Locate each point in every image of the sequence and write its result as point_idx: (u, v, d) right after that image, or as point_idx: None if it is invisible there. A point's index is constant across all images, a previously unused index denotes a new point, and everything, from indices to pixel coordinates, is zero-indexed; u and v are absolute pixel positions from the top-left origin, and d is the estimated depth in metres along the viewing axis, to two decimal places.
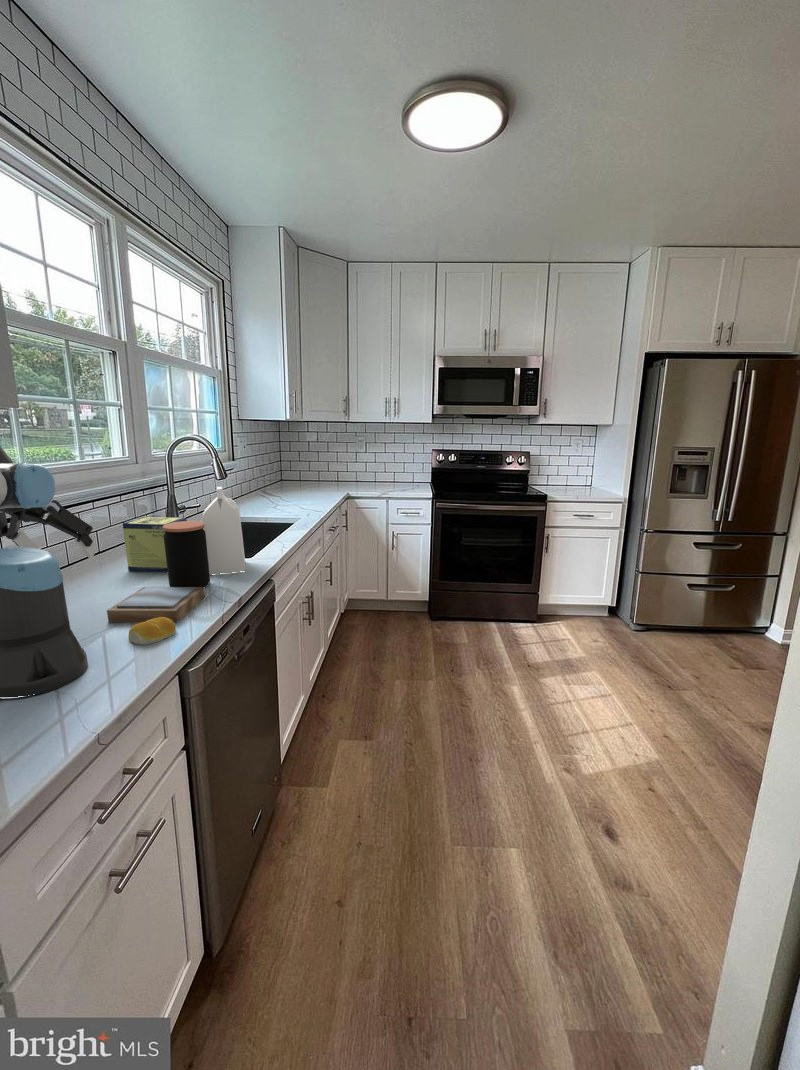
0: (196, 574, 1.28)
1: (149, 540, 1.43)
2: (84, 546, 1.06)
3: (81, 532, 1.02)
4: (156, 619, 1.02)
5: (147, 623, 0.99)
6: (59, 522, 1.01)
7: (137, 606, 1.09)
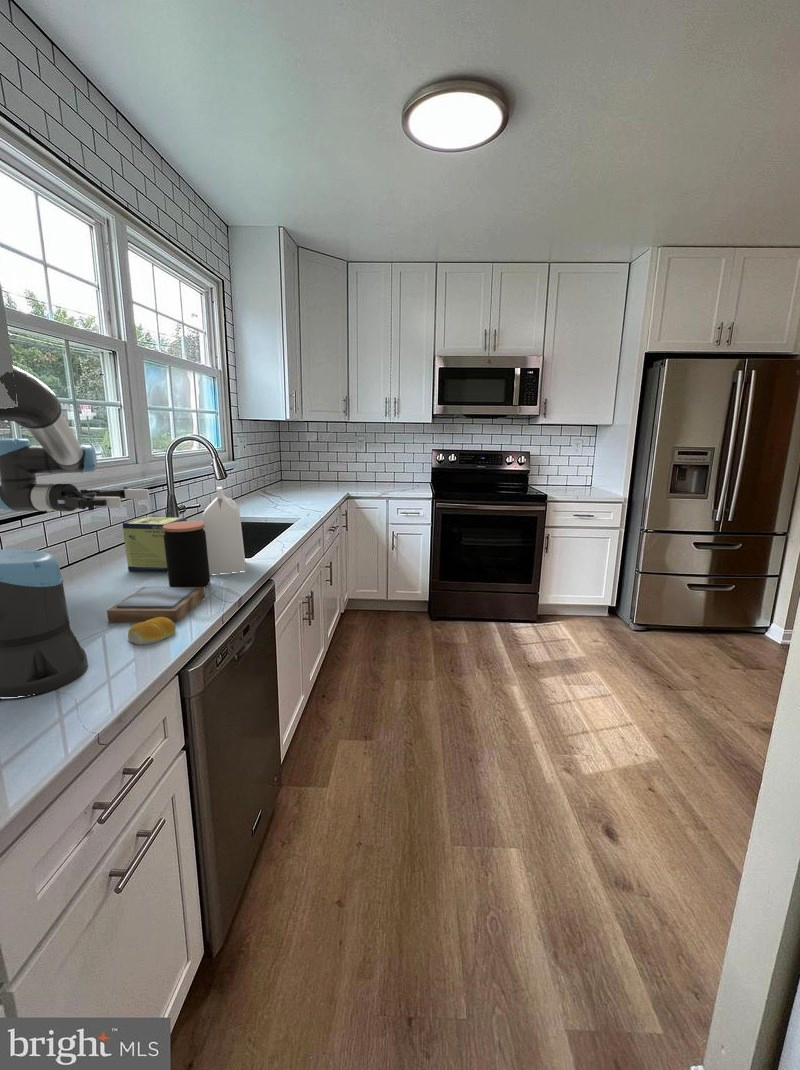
0: (196, 574, 1.28)
1: (149, 540, 1.43)
2: None
3: None
4: (155, 619, 1.02)
5: (146, 623, 0.99)
6: None
7: (137, 606, 1.09)
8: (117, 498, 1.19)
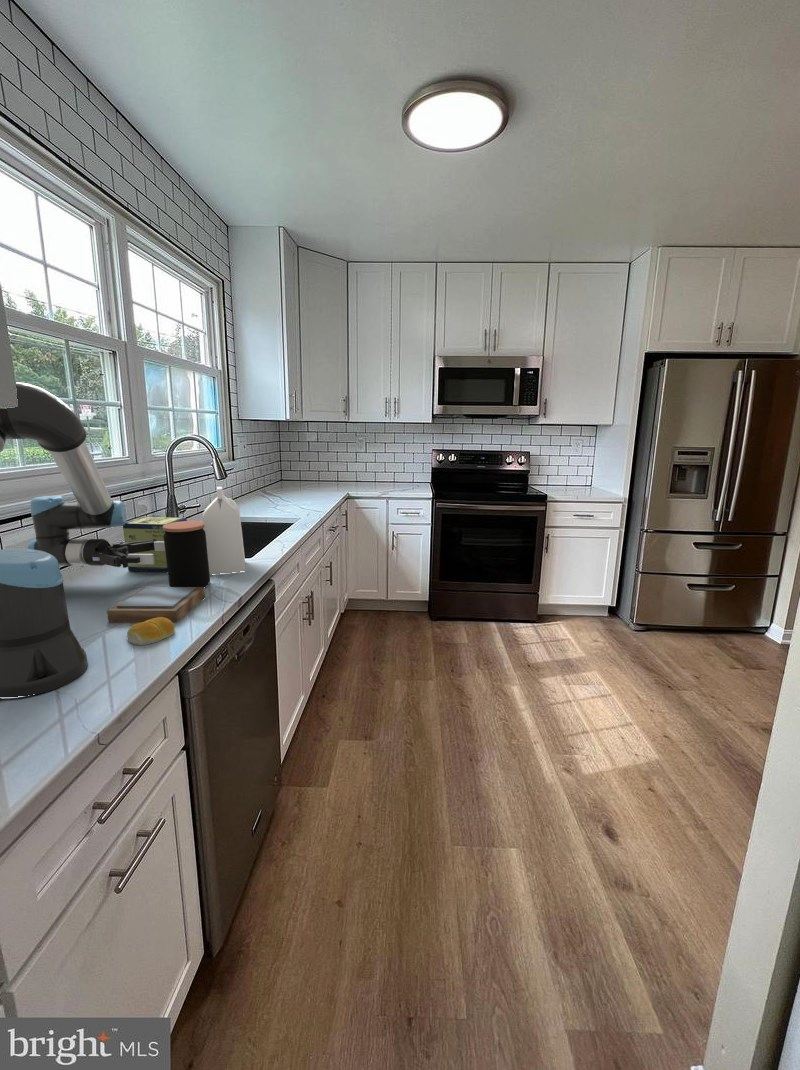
0: (196, 574, 1.28)
1: None
2: None
3: (151, 540, 1.39)
4: (155, 619, 1.02)
5: (146, 623, 0.99)
6: None
7: (137, 606, 1.09)
8: (151, 555, 1.24)
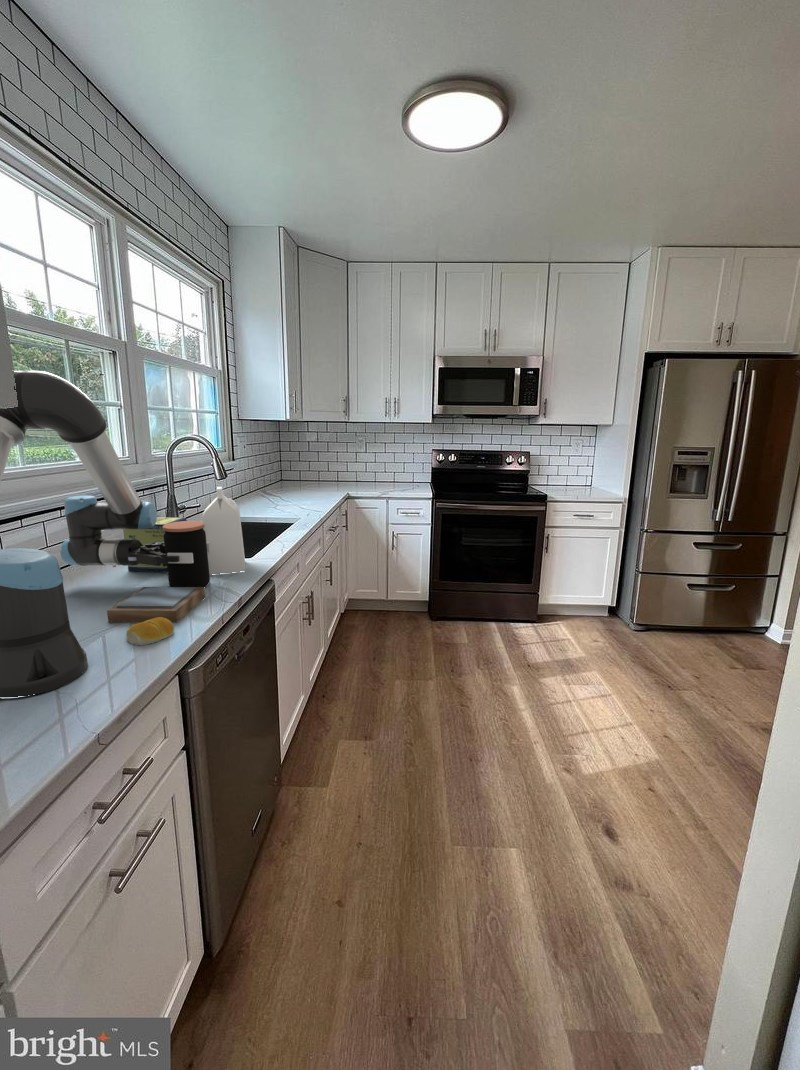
0: (195, 574, 1.28)
1: (149, 540, 1.43)
2: None
3: None
4: (154, 619, 1.01)
5: (145, 623, 0.99)
6: None
7: (137, 606, 1.09)
8: (190, 554, 1.24)
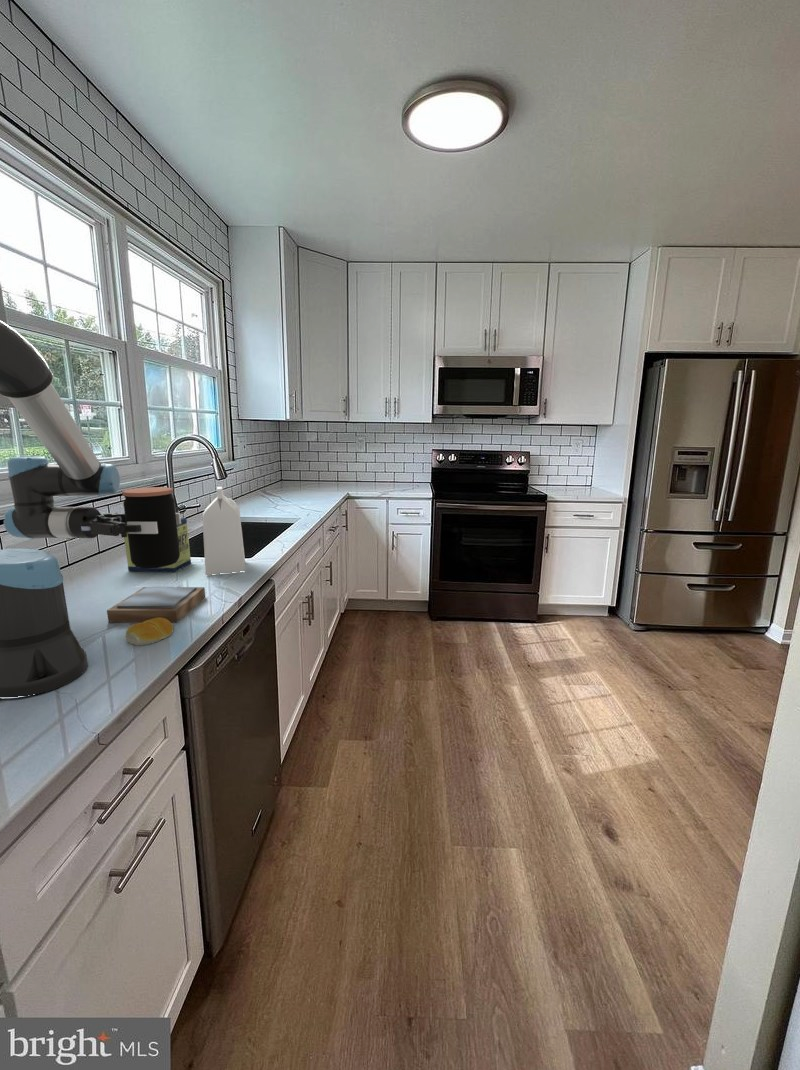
0: (161, 547, 1.09)
1: None
2: None
3: None
4: (153, 620, 1.01)
5: (144, 624, 0.99)
6: None
7: (137, 606, 1.09)
8: (153, 523, 1.06)
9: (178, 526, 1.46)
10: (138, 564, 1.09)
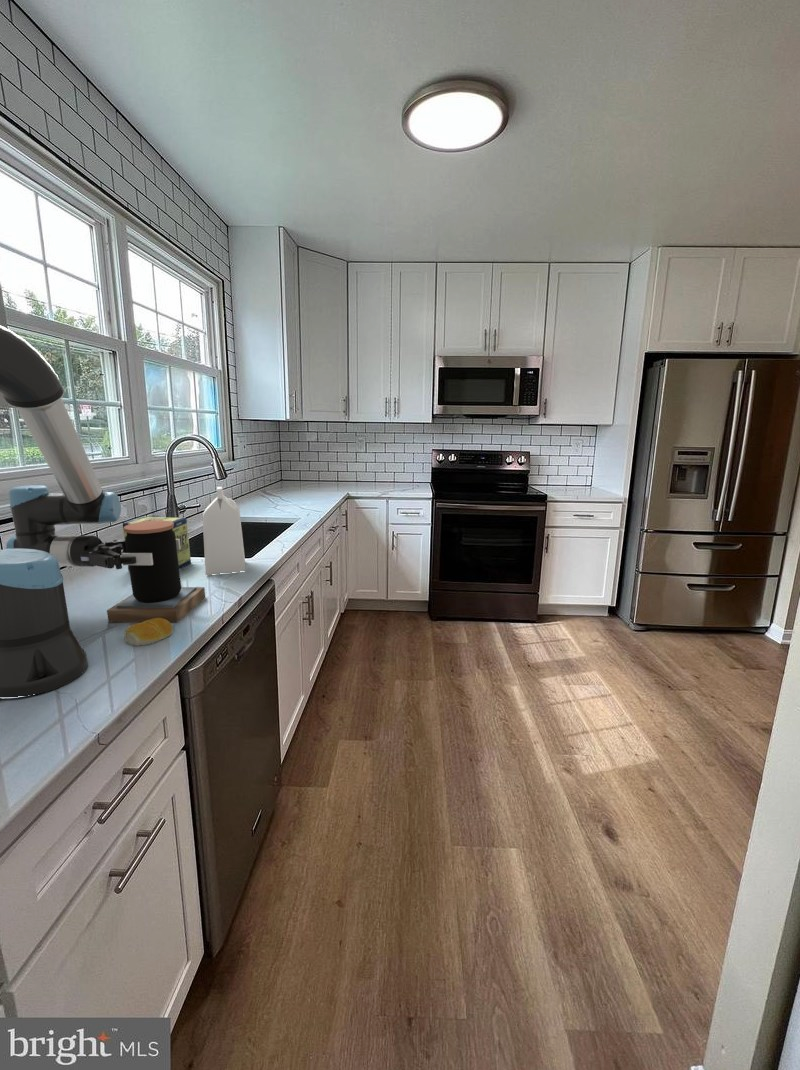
0: (163, 582, 1.10)
1: None
2: None
3: None
4: (152, 620, 1.01)
5: (143, 624, 0.98)
6: None
7: (137, 606, 1.09)
8: (148, 555, 1.05)
9: (178, 526, 1.46)
10: (140, 599, 1.10)
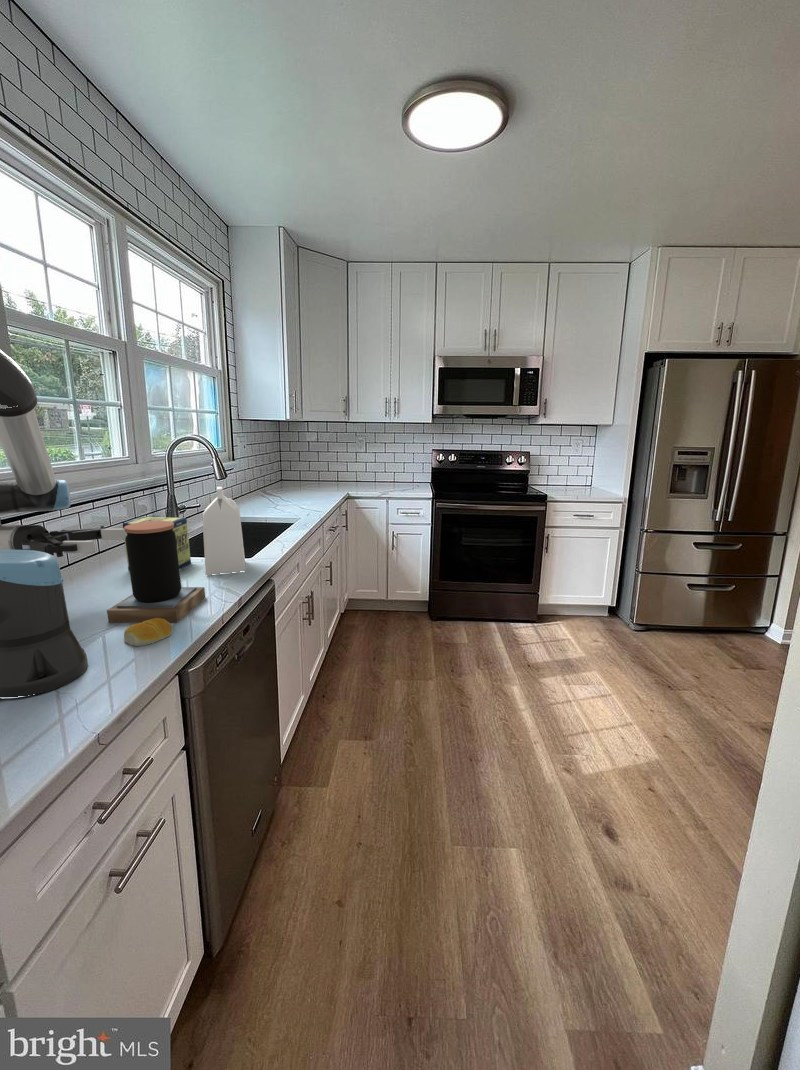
0: (163, 582, 1.10)
1: None
2: None
3: (98, 528, 1.21)
4: (152, 620, 1.01)
5: (143, 624, 0.98)
6: None
7: (137, 606, 1.09)
8: (89, 542, 1.05)
9: (178, 526, 1.46)
10: (140, 599, 1.10)
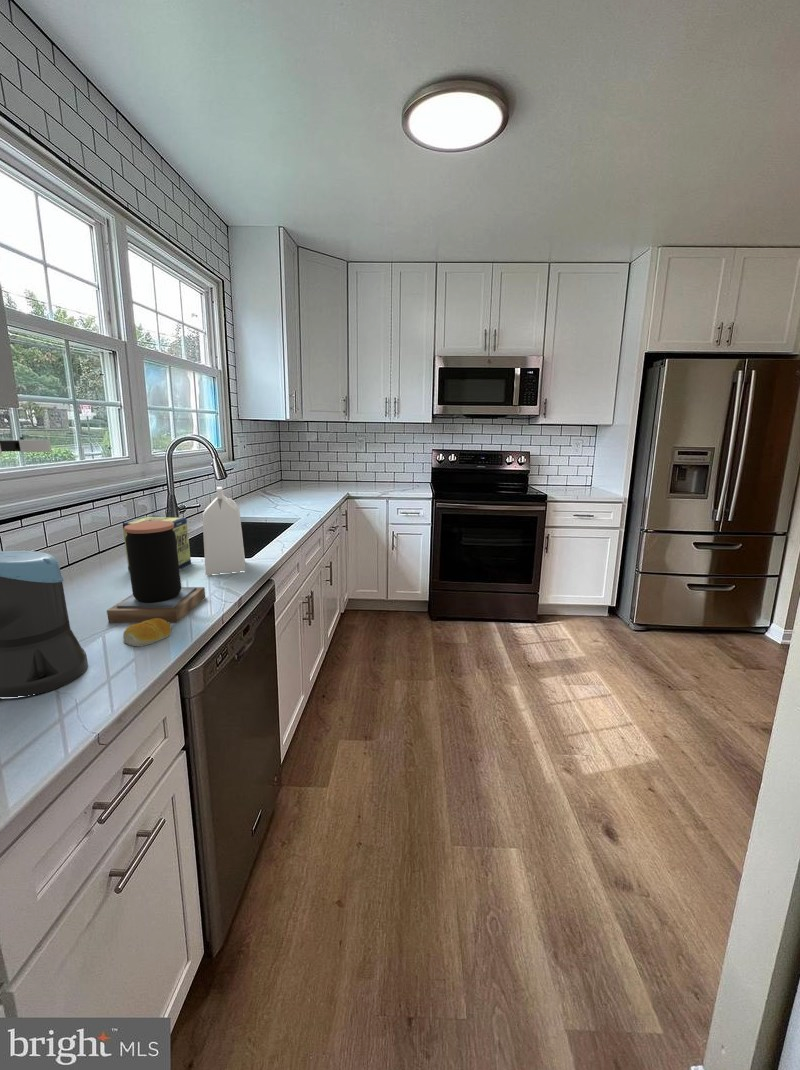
0: (163, 582, 1.10)
1: None
2: None
3: None
4: (151, 620, 1.01)
5: (142, 624, 0.98)
6: None
7: (137, 606, 1.09)
8: None
9: (178, 526, 1.46)
10: (140, 599, 1.10)
